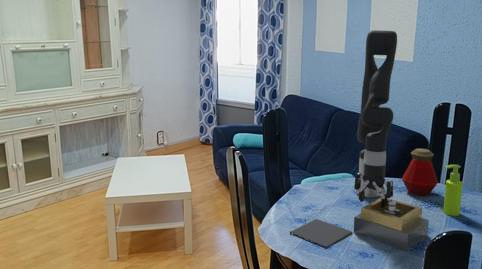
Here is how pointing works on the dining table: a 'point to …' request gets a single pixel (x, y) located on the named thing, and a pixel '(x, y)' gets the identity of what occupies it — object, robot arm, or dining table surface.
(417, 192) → the bottle
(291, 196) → the dining table surface
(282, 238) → the dining table surface
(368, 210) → the wooden tray
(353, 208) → the dining table surface
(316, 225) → the black mat
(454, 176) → the soap dispenser
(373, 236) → the translucent grey knobbed box
